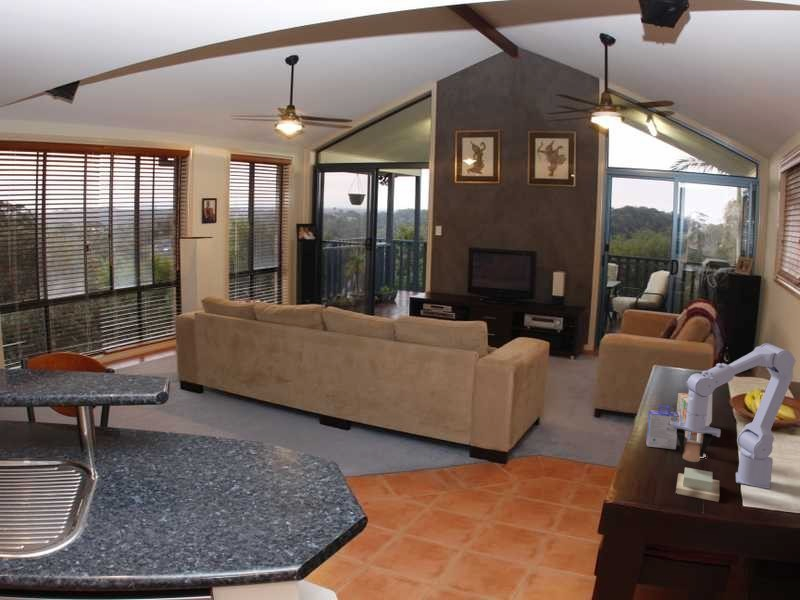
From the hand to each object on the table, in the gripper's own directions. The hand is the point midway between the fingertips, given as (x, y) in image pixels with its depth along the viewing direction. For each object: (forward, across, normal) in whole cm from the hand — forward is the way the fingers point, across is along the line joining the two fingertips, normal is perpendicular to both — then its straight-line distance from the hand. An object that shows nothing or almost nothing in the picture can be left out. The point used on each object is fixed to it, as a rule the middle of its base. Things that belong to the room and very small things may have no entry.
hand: (691, 454), depth 226 cm
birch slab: (+10, -3, +4) cm, 11 cm away
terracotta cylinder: (+1, 0, 0) cm, 1 cm away
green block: (+8, -2, +4) cm, 9 cm away
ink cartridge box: (+10, +10, -29) cm, 32 cm away
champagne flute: (+10, -2, -26) cm, 28 cm away
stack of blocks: (+10, 0, -48) cm, 49 cm away
